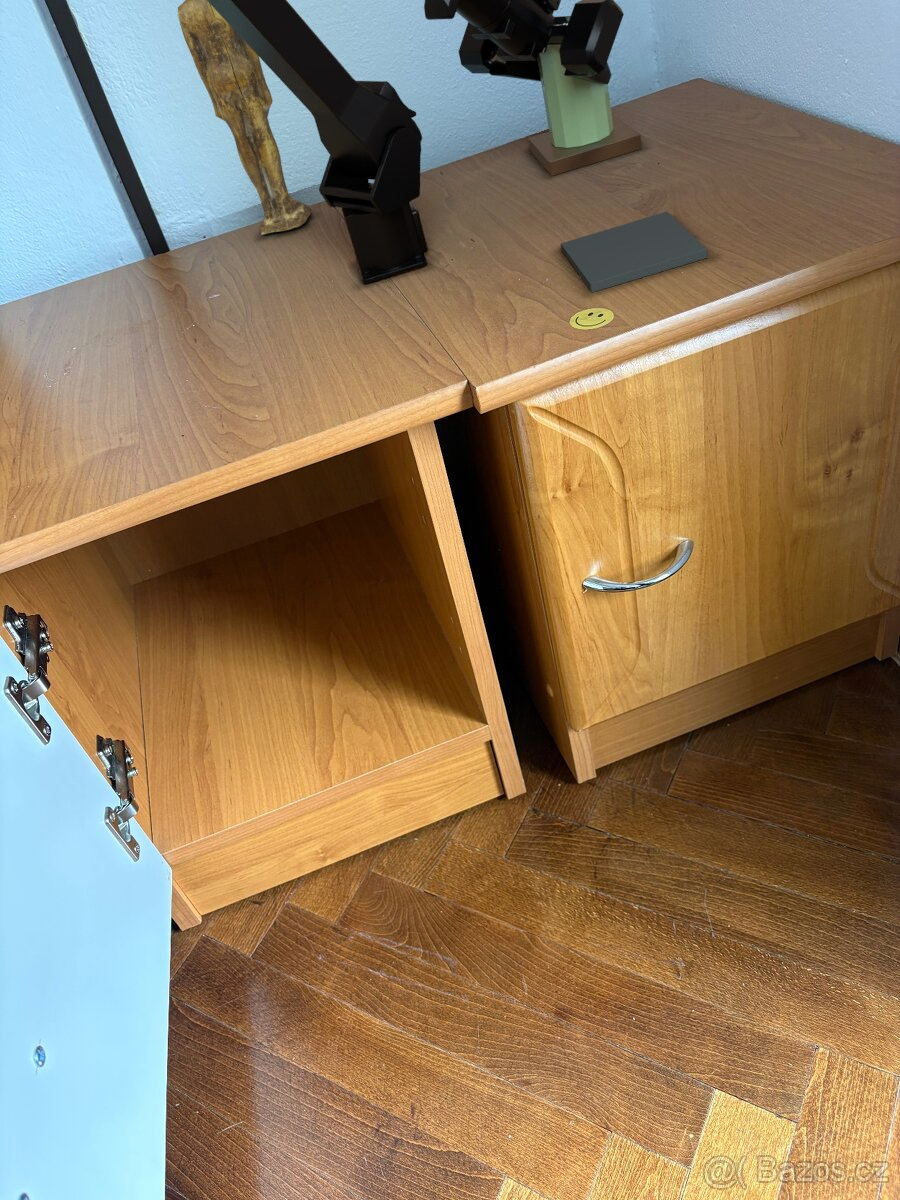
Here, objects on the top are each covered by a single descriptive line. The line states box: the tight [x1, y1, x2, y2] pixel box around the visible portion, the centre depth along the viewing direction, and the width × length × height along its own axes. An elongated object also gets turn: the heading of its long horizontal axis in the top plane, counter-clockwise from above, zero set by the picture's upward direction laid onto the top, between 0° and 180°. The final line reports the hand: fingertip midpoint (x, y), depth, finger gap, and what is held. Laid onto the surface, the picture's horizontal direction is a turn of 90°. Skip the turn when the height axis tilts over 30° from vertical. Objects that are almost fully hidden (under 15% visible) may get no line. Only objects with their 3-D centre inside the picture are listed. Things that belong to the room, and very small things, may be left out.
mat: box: [560, 211, 708, 293], centre depth 87 cm, size 10×10×1 cm
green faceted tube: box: [537, 45, 613, 148], centre depth 106 cm, size 7×7×11 cm
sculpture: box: [177, 0, 313, 236], centre depth 105 cm, size 7×6×30 cm
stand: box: [527, 111, 643, 177], centre depth 109 cm, size 10×10×6 cm
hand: (583, 79), depth 107 cm, fingers closed on green faceted tube, 7 cm apart
